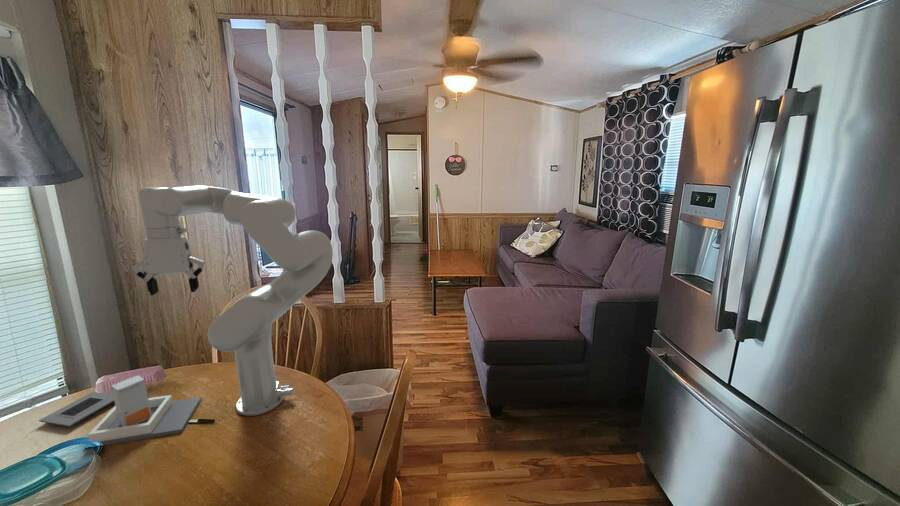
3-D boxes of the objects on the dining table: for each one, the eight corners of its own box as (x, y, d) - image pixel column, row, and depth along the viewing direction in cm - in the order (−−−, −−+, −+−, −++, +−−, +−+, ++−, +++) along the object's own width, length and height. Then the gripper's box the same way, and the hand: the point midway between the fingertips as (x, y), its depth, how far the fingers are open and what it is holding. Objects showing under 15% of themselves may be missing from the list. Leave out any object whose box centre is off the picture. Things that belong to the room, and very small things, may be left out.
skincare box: (125, 430, 95) (115, 390, 92) (119, 424, 97) (109, 385, 94) (153, 417, 100) (144, 379, 97) (146, 411, 102) (138, 374, 99)
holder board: (201, 400, 109) (199, 390, 108) (182, 432, 96) (179, 420, 95) (117, 412, 103) (114, 402, 102) (84, 448, 90) (81, 436, 89)
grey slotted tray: (71, 432, 96) (68, 424, 95) (40, 426, 98) (38, 419, 97) (123, 401, 109) (121, 394, 108) (95, 397, 110) (93, 390, 110)
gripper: (205, 229, 104) (213, 285, 108) (133, 231, 99) (145, 290, 103) (195, 234, 97) (204, 293, 101) (117, 237, 92) (131, 299, 96)
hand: (174, 292), depth 102 cm, fingers open, 9 cm apart
